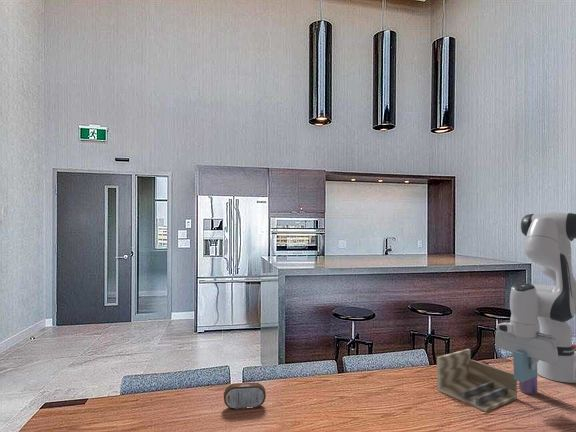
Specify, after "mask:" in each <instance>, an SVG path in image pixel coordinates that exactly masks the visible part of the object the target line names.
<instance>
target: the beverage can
mask: <svg viewBox="0 0 576 432" xmlns="http://www.w3.org/2000/svg"><path fill="white" fill-rule="evenodd" d="M518 383H519V387H518V388H519V390H520V392H522V393H523V394H525V393H526V395H529V396H530V395H533V396H534V395H536V394H537V393H538V375H537V376H536V377H534V378H531V379H529V380H527V381H525V382H520V381H518Z"/></svg>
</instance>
